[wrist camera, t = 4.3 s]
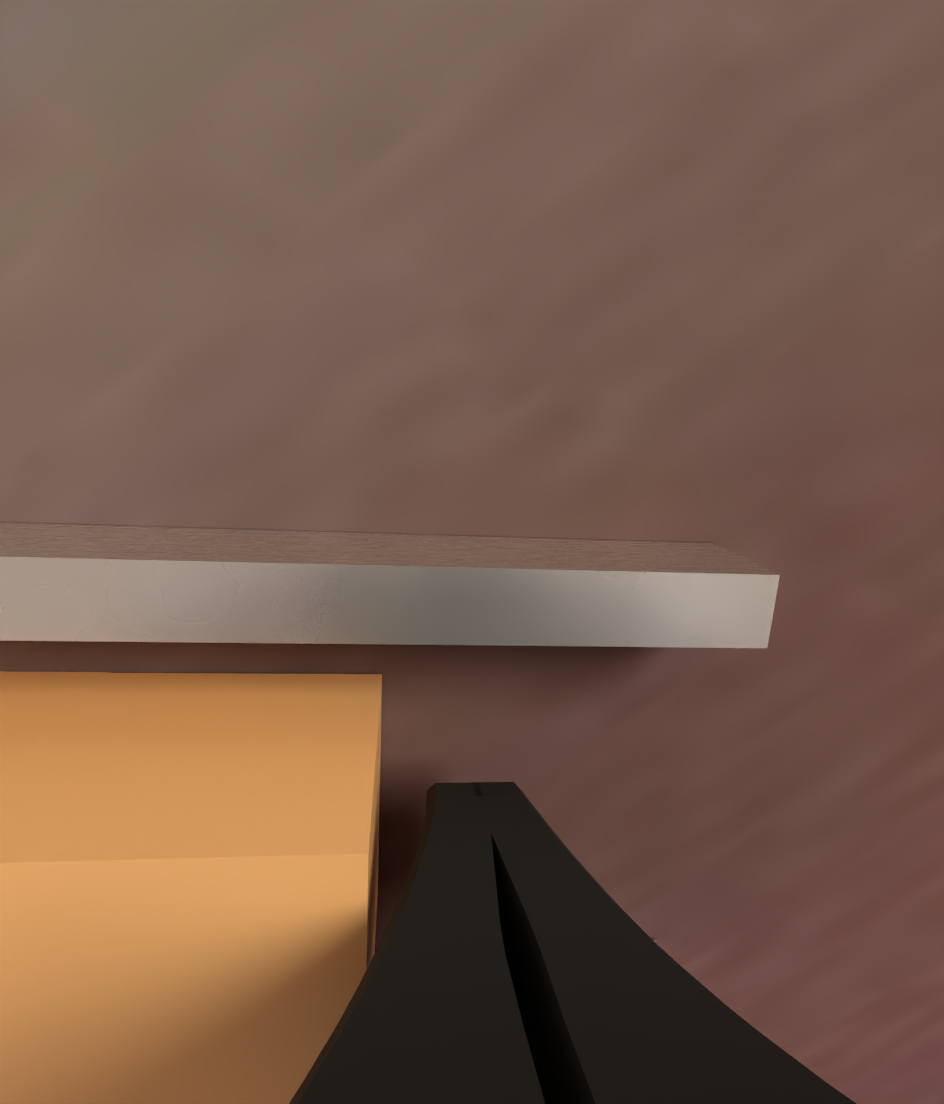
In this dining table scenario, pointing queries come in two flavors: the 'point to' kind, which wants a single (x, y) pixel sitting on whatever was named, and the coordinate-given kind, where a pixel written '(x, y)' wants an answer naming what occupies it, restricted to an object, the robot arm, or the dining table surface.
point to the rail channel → (374, 589)
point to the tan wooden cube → (36, 706)
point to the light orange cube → (187, 887)
